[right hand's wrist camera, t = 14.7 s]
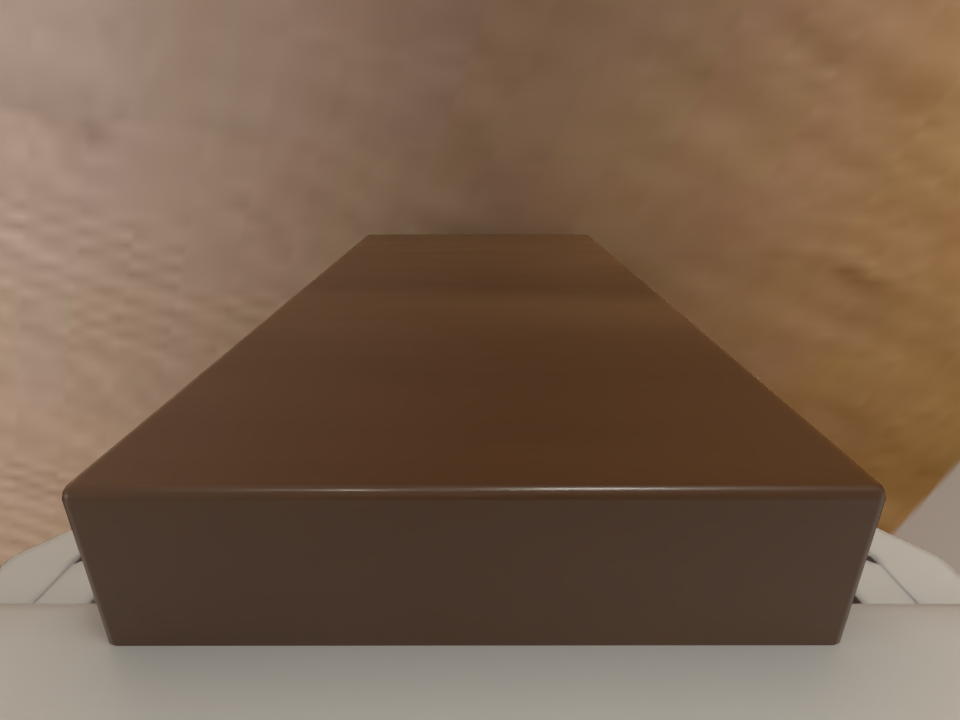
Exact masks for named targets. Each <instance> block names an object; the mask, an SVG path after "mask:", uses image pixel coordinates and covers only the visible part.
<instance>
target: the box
mask: <svg viewBox="0 0 960 720" xmlns="http://www.w3.org/2000/svg"><path fill="white" fill-rule="evenodd" d="M885 499H886V497H885V491H884V489H883V487H882V485H881V484H879V483H878V482H877V481H876V480H875V479H874V478H872V477H871V476H870V475H869V474H868V473H867V472H865V471H864V470H863V469H862V468H861V467H859V466H858V465H857V464H856V463H855V462H854V461H852V460H851V459H850V458H849V457H848V456H847V455H845V454H844V453H843V452H842V451H841V450H840V449H838V448H837V447H836V446H835V445H834V444H832V443H831V442H830V441H829V440H828V439H827V438H825V437H824V436H823V435H822V434H821V433H820V432H818V431H817V430H816V429H815V428H814V427H813V426H811V425H810V424H809V423H808V422H807V421H805V420H804V419H803V418H802V417H801V416H800V415H798V414H797V413H796V412H795V411H794V410H793V409H791V408H790V407H789V406H788V405H787V404H785V403H784V402H783V401H782V400H781V399H780V398H778V397H777V396H776V395H775V394H774V393H773V392H771V391H770V390H769V389H768V388H767V387H766V386H764V385H763V384H762V383H761V382H760V381H758V380H757V379H756V378H755V377H754V376H753V375H751V374H750V373H749V372H748V371H747V370H746V369H744V368H743V367H742V366H741V365H740V364H739V363H737V362H736V361H735V360H734V359H733V358H731V357H730V356H729V355H728V354H727V353H726V352H724V351H723V350H722V349H721V348H720V347H719V346H717V345H716V344H715V343H714V342H713V341H711V340H710V339H709V338H708V337H707V336H706V335H704V334H703V333H702V332H701V331H700V330H699V329H697V328H696V327H695V326H694V325H693V324H692V323H690V322H689V321H688V320H687V319H686V318H684V317H683V316H682V315H681V314H680V313H679V312H677V311H676V310H675V309H674V308H673V307H672V306H670V305H669V304H668V303H667V302H666V301H665V300H663V299H662V298H661V297H660V296H659V295H657V294H656V293H655V292H654V291H653V290H652V289H650V288H649V287H648V286H647V285H646V284H645V283H643V282H642V281H641V280H640V279H639V278H637V277H636V276H635V275H634V274H633V273H632V272H630V271H629V270H628V269H627V268H626V267H625V266H623V265H622V264H621V263H620V262H619V261H618V260H616V259H615V258H614V257H613V256H612V255H610V254H609V253H608V252H607V251H606V250H605V249H603V248H602V247H601V246H600V245H599V244H598V243H596V242H595V241H594V240H593V239H592V238H591V237H589V236H588V235H368V236H367V237H365V238H364V239H363V240H362V241H361V242H359V243H358V244H357V245H356V246H355V247H353V248H352V249H351V250H350V251H349V252H347V253H346V254H345V255H344V256H343V257H341V258H340V259H339V260H338V261H336V262H335V263H334V264H333V265H332V266H330V267H329V268H328V269H327V270H326V271H324V272H323V273H322V274H321V275H320V276H318V277H317V278H316V279H315V280H314V281H312V282H311V283H310V284H309V285H308V286H306V287H305V288H304V289H303V290H302V291H300V292H299V293H298V294H297V295H296V296H294V297H293V298H292V299H291V300H290V301H288V302H287V303H286V304H285V305H283V306H282V307H281V308H280V309H279V310H277V311H276V312H275V313H274V314H273V315H271V316H270V317H269V318H268V319H267V320H265V321H264V322H263V323H262V324H261V325H259V326H258V327H257V328H256V329H255V330H253V331H252V332H251V333H250V334H249V335H247V336H246V337H245V338H244V339H243V340H241V341H240V342H239V343H238V344H237V345H235V346H234V347H233V348H232V349H230V350H229V351H228V352H227V353H226V354H224V355H223V356H222V357H221V358H220V359H218V360H217V361H216V362H215V363H214V364H212V365H211V366H210V367H209V368H208V369H206V370H205V371H204V372H203V373H202V374H200V375H199V376H198V377H197V378H196V379H194V380H193V381H192V382H191V383H190V384H188V385H187V386H186V387H185V388H184V389H182V390H181V391H180V392H179V393H177V394H176V395H175V396H174V397H173V398H171V399H170V400H169V401H168V402H167V403H165V404H164V405H163V406H162V407H161V408H159V409H158V410H157V411H156V412H155V413H153V414H152V415H151V416H150V417H149V418H147V419H146V420H145V421H144V422H143V423H141V424H140V425H139V426H138V427H137V428H135V429H134V430H133V431H132V432H131V433H129V434H128V435H127V436H126V437H124V438H123V439H122V440H121V441H120V442H118V443H117V444H116V445H115V446H114V447H112V448H111V449H110V450H109V451H108V452H106V453H105V454H104V455H103V456H102V457H100V458H99V459H98V460H97V461H96V462H94V463H93V464H92V465H91V466H90V467H88V468H87V469H86V470H85V471H84V472H82V473H81V474H80V475H79V476H78V477H76V478H75V479H74V480H73V481H71V482H70V483H69V484H68V485H67V486H66V487H65V489H64V491H63V494H62V501H63V504H64V507H65V510H66V513H67V516H68V519H69V522H70V525H71V528H72V531H73V535H74V538H75V541H76V544H77V547H78V550H79V553H80V556H81V559H82V562H83V565H84V568H85V571H86V574H87V577H88V580H89V583H90V586H91V589H92V592H93V595H94V598H95V601H96V604H97V607H98V610H99V613H100V616H101V619H102V622H103V625H104V628H105V631H106V635H107V638H108V641H109V644H112V645H114V646H631V645H836V644H838V643H840V640H841V637H842V634H843V631H844V628H845V625H846V621H847V618H848V615H849V612H850V609H851V606H852V603H853V600H854V596H855V593H856V590H857V587H858V584H859V581H860V578H861V575H862V571H863V568H864V565H865V562H866V559H867V556H868V553H869V550H870V546H871V543H872V540H873V537H874V534H875V531H876V528H877V525H878V521H879V518H880V515H881V512H882V509H883V506H884V503H885Z"/></svg>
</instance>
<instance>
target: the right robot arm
mask: <svg viewBox="0 0 960 720" xmlns="http://www.w3.org/2000/svg"><path fill="white" fill-rule="evenodd" d="M0 720H960V574H959V573H958V572H957V571H956V570H955V569H954V568H952V567H951V566H950V565H949V564H948V563H947V562H946V561H945V560H943V559H942V558H941V557H939V556H937V555H935V554H933V553H931V552H928V551H926V550H924V549H922V548H920V547H917V546H915V545H913V544H911V543H909V542H907V541H904V540H902V539H900V538H898V537H896V536H893V535H891V534H889V533H887V532H885V531H882V530H880V529H878V528H876V531H875V534H874V537H873V540H872V543H871V546H870V550H869V553H868V556H867V559H866V562H865V565H864V568H863V571H862V575H861V578H860V581H859V584H858V587H857V590H856V593H855V596H854V600H853V603H852V606H851V609H850V612H849V615H848V618H847V621H846V625H845V628H844V631H843V634H842V637H841V640H840V643H838V644H836V645H631V646H114V645H112V644H109V641H108V638H107V635H106V631H105V628H104V625H103V622H102V619H101V616H100V613H99V610H98V607H97V604H96V601H95V598H94V595H93V592H92V589H91V586H90V583H89V580H88V577H87V574H86V571H85V568H84V565H83V562H82V559H81V556H80V553H79V550H78V547H77V544H76V541H75V538H74V535H73V531H72V530H70V531H68V532H65V533H63V534H61V535H59V536H56V537H54V538H52V539H50V540H48V541H45V542H43V543H41V544H39V545H36V546H34V547H32V548H30V549H28V550H25V551H23V552H21V553H19V554H16V555H14V556H12V557H11V558H10V559H9V560H8V561H6V562H5V563H4V564H3V565H2V566H1V567H0Z"/></svg>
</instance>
